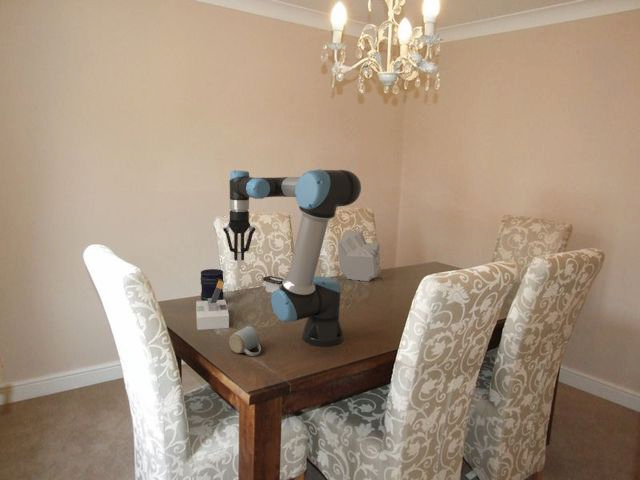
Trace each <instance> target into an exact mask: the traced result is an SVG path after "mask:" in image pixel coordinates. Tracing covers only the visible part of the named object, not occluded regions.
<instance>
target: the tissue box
mask: <svg viewBox="0 0 640 480" xmlns="http://www.w3.org/2000/svg"><path fill="white" fill-rule="evenodd" d="M364 237H365V236H364V235H363V231H358V230H345V231H344V232H343V234H342V236H341V238H340V240H339V242H338V243H337V249H338V261H339V263H338V265H339V270H340V272H341V273H342V274H343V276H344V277H345V279H346V278H347V280H348V279H352V280H351V281H358V280H360V282H370V281H371V280H372V279H374V278H375V279H376V278H377V277H378V275H379V274H380V272H381V269H382V266H381V254H380V253H381V252H380V242H379V241H377V242H367V241H366V239H365V238H364ZM369 280H370V281H369Z"/></svg>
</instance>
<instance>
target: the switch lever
mask: <svg viewBox="0 0 640 480" xmlns="http://www.w3.org/2000/svg"><path fill="white" fill-rule="evenodd" d="M224 285H225V281H224V279H223V280H220V279H219V281H218V283H217V286H216V289H215V291H214V294H213V296H212V299H211V301H210V303H216V302H217V299H218V297H219V294H220V292H221V289H222V287H223V288H224Z"/></svg>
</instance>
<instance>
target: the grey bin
mask: <svg viewBox="0 0 640 480" xmlns="http://www.w3.org/2000/svg"><path fill="white" fill-rule="evenodd" d="M267 274H268V273H267V272H266V273H265V276H264V277H262V278H261V279H262V281H264V282H265V292H268V293H270V294H271V293H272V294H273V292H274V291H276V290H277V289H280V288H281V285H282V281H283V279H284V278H282V277H281V278H280V277H277V276H272V275H267Z"/></svg>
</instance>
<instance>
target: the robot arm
mask: <svg viewBox="0 0 640 480" xmlns="http://www.w3.org/2000/svg"><path fill="white" fill-rule="evenodd" d="M361 192H362V184H361V180H360V179H359V177H358V176H357V175H356V174H355V173H354V172H352V171H350V170H347V169H314V170H307V171H306V172H304V173H303V174H302V175H300V176H291V177H290V176H284V177H283V176H281V177H251V176H250V172H249V171H247V170H231V171H230V173H229V209H230V211H229V222H228V224H227V226H223V228H222V231H223V232H224V233H225V236H226V241H227V245H228V249H229V251H230V252H232V253H233V256H234V257H233V259H234V261H235V262H236V269H237V270H242V261H244V260H245V253H246V252H249V250H250V247H251V243H252V239H253V235H254V233H255V232H256V230H257V229H256V228H255V226H252V225H251V223H250V212H249V209H250V198H251V199H255V200H260V199H262V200H263V199H265V198H274V197H275V198H278V197H279V198H281V197H282V198H285V197H286V198H295V200H296V202H297V205H298V206H299V207H298V209H299V211H300V212H301V215H302V216H301V219H300V224H299V228H298V232H297V237H296V241H295V245H294V249H293V253H292V257H291V262H290V266H289V269H288V270H289V272H288V274H287V275H288V276H286V277H284V278H282V279H283V281H282V285H281V288H280V289H277V290H276V291H274V292H273V293H272V294H271V299H270V302H271V307H272V310H273V312H274V314H275V316H276V317H277V319H278V320H280V321H281V322H284V323H290V322H296V321H299V320H304V319H306V322H305V325H304V326H303V327H304V328H303V330H302V332H301V333H302V334H301V337H302V339H301V340H303V342H305V343H306V344H308V345H311V346H317V347H333V346H336V345H339V344H341V343H342V342H343V338H344V333H343V329H342V325H341V322H340V308H341V307H340V304H341V294H342V293H341V284H340V282H339V281H338V280H336V279H334V278H331V277H327V276H317V275H316V271H317V267H318V263H319V259H320V256H321V251H322V247H323V243H324V239H325V235H326V231H327V228H328V225H329V220H331V219H333V218H335V215H336V212H337V208H338V207H346V206H349V205H352V204H354V203H355V202H356V201H357V200H359V197H360V194H361ZM230 230H231V231H232V233H233V236H234V237H233V239H234V240H233V243H232V240H231V236H230V233H229V232H230ZM247 231H249V233H248V235H247V239H246V242H245V233H246V232H247ZM239 234H240V251H238V247H239V243H238V242H239V241H238V240H239V239H238V238H239ZM245 243H246V244H245ZM232 244H233V245H232Z"/></svg>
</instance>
